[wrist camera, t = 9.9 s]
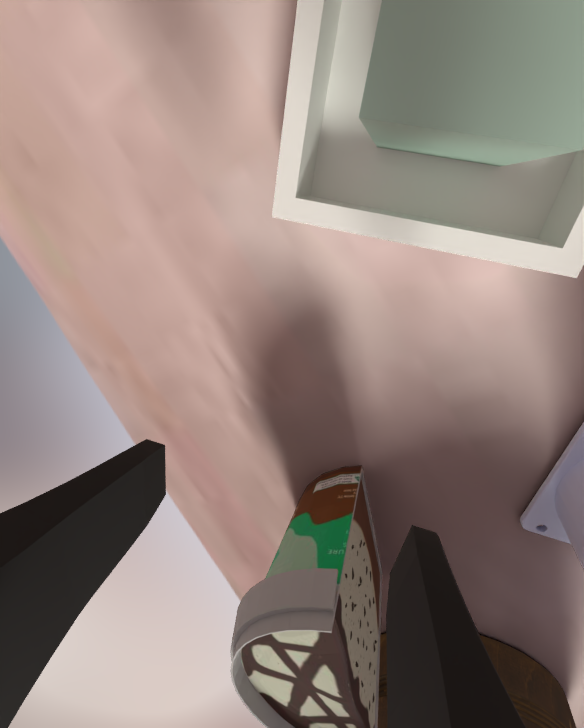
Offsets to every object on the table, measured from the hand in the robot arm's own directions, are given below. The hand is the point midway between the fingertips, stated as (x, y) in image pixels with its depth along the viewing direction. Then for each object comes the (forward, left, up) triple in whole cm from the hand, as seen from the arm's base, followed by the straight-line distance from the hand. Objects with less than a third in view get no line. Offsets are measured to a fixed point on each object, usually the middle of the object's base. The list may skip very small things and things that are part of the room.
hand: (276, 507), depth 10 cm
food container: (-2, +12, -11) cm, 16 cm away
